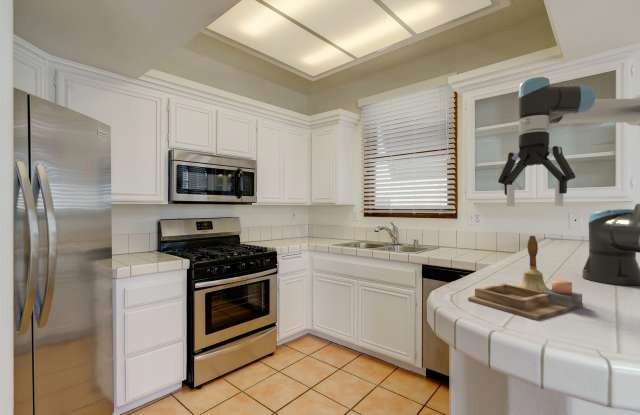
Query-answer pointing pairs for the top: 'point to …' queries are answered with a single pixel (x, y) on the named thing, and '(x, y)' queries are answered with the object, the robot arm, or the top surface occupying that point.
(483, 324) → the top surface
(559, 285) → the button
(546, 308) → the station
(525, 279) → the hand bell
